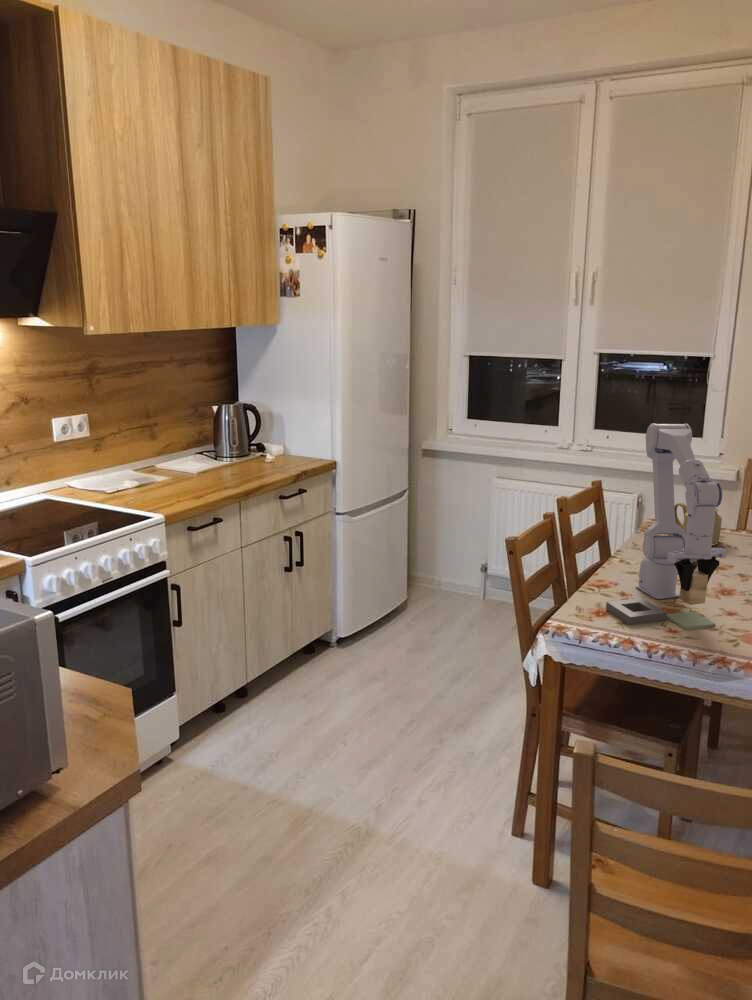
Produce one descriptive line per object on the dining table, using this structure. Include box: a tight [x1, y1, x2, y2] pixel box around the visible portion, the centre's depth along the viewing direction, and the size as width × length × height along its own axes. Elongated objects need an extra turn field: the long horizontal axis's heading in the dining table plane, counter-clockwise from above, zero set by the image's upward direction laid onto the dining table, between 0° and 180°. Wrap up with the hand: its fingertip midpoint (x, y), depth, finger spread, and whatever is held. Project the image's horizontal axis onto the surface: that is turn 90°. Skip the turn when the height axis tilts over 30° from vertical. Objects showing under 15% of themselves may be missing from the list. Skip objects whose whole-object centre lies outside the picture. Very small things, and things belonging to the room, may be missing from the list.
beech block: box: [678, 569, 708, 606], centre depth 182 cm, size 4×4×7 cm
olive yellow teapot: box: [674, 502, 723, 544], centre depth 247 cm, size 15×11×15 cm
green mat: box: [666, 610, 716, 631], centre depth 184 cm, size 8×8×1 cm
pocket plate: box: [605, 597, 668, 626], centre depth 188 cm, size 10×10×2 cm
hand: (693, 588), depth 182 cm, fingers closed on beech block, 4 cm apart
